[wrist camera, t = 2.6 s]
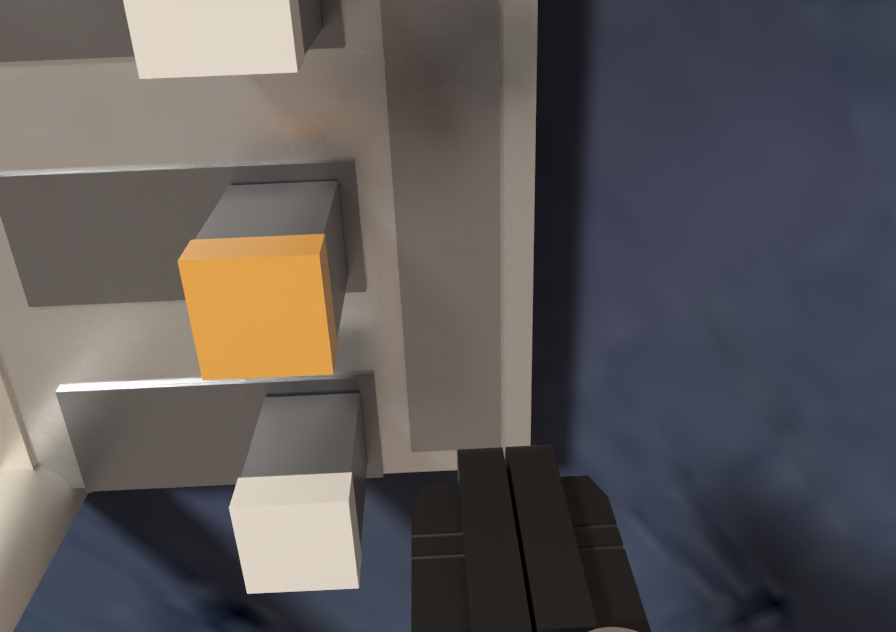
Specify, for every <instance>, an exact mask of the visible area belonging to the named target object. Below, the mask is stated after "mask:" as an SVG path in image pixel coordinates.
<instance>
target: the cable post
mask: <svg viewBox="0 0 896 632" xmlns="http://www.w3.org/2000/svg"><path fill="white" fill-rule="evenodd" d="M91 492H93V491H91ZM91 492H86V488H75V489H72V488H71V486H70V485H69V484H68V483H67V482H66V481H65V480H64V479H63V478H61V477H60V476H58V475H57V474H55V473H53V472H51V471H49V470H47V469H44V468H41V467H37V466H36V467H35V469H34V470H31V469H10V470H6V471H3V472H0V632H13V630H14V629H15V627H16V625H17V623H18V621H19V619H20V618H21V616H22V614H23V612H24V610H25V608H26V607H27V605H28V603H29V601H30V599H31V597H32V596H33V594H34V592H35V590H36V588H37V586H38V585H39V583H40V581H41V579H42V577H43V575H44V574H45V572H46V570H47V568H48V566H49V564H50V562H51V561H52V559H53V557H54V555H55V553H56V551H57V550H58V548H59V546H60V544H61V542H62V540H63V539H64V537H65V535H66V533H67V531H68V529H69V528H70V526H71V524H72V522H73V520H74V518H75V517H76V515H77V513H78V511H79V509H80V507H81V506H82V504H83V502H84V500H85V498H86V496H87V494H89V493H91Z"/></svg>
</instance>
